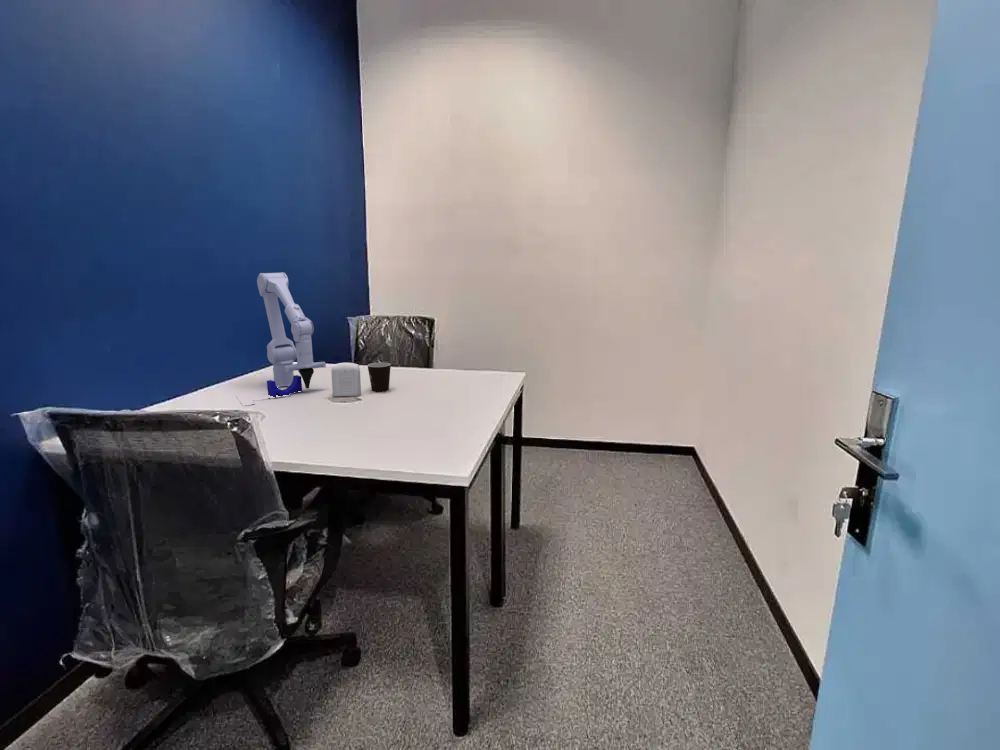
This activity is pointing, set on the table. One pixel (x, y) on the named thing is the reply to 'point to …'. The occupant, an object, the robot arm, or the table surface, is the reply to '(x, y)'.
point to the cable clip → (294, 387)
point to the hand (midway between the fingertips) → (307, 388)
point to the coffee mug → (379, 376)
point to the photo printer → (346, 379)
